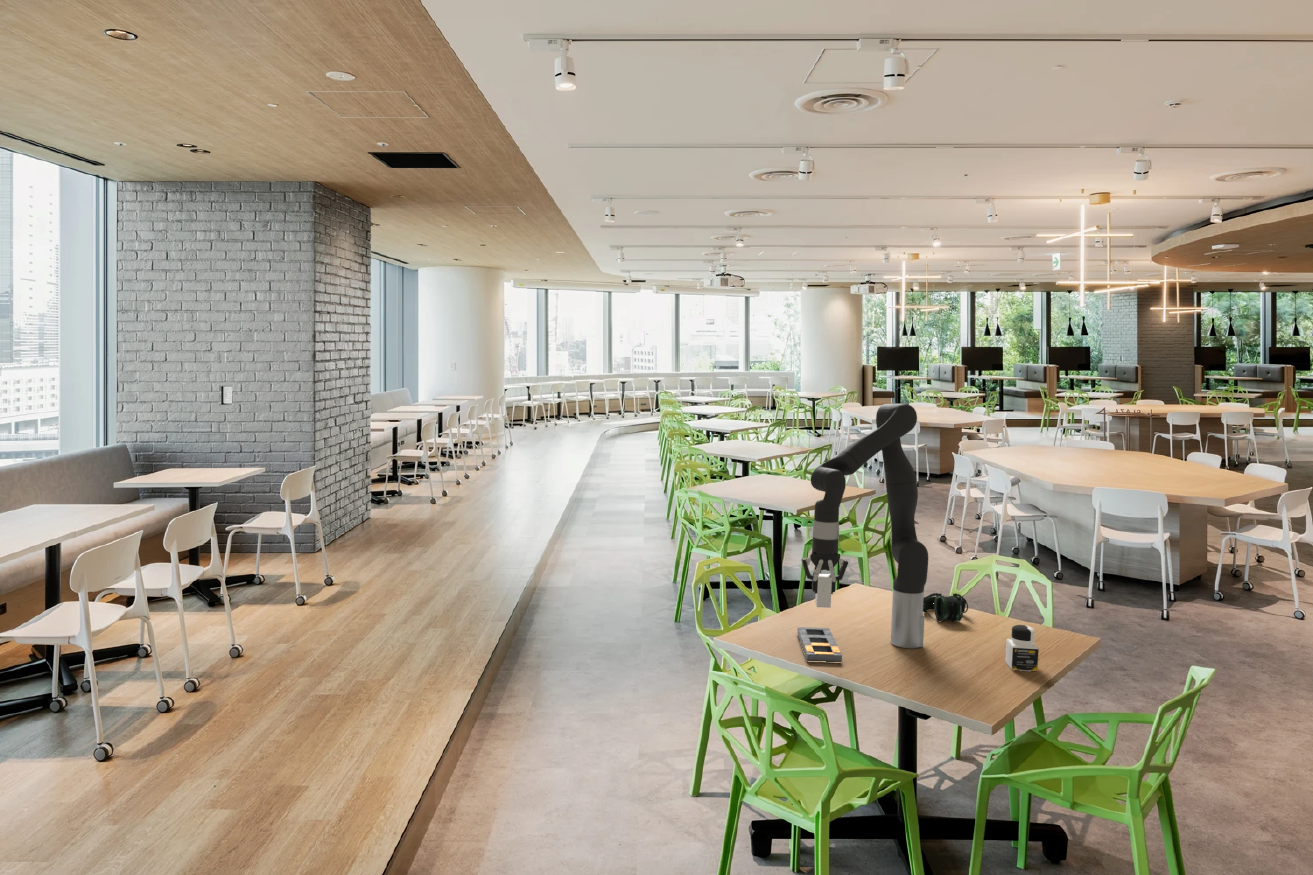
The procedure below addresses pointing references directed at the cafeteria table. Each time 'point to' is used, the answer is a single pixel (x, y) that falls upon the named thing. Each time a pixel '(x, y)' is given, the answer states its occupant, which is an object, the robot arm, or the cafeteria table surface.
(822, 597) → the steel block
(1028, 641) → the medicine bottle
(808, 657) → the slotted rack
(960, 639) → the cafeteria table surface
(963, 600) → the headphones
